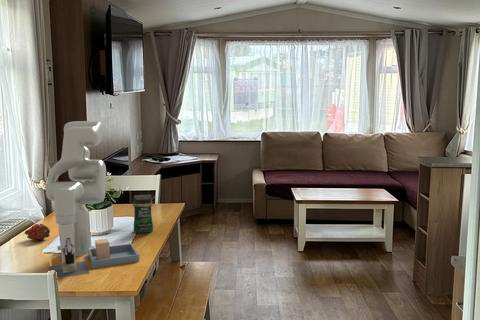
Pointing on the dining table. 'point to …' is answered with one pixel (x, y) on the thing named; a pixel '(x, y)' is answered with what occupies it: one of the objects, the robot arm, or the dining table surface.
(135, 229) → the coffee jar
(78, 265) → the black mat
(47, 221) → the dining table surface
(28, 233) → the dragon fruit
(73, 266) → the birch box
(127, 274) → the dining table surface
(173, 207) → the dining table surface
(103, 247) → the terracotta box
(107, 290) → the dining table surface
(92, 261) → the slate bin
